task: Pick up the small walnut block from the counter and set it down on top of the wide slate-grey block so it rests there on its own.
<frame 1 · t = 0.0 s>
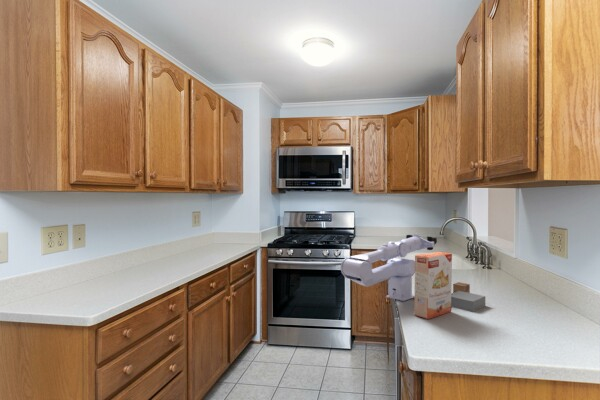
hand: (427, 239, 158), 22 cm above the counter, tool horizontal, fingers open, 7 cm apart
slate block: (465, 306, 134), on the counter
cracker box: (433, 314, 125), on the counter
walnut block: (461, 296, 147), on the counter
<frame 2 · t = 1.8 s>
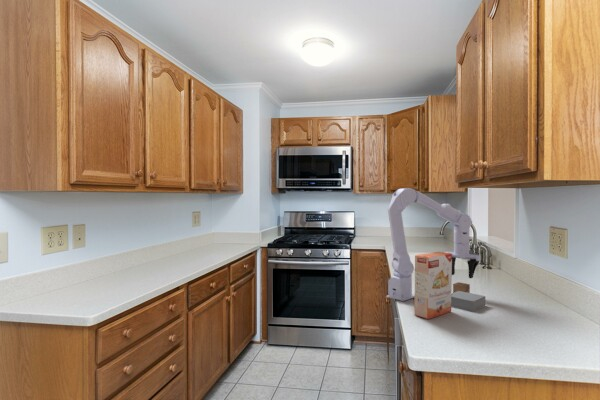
hand: (461, 276, 146), 8 cm above the counter, tool pointing down, fingers open, 7 cm apart
nothing on the counter moved.
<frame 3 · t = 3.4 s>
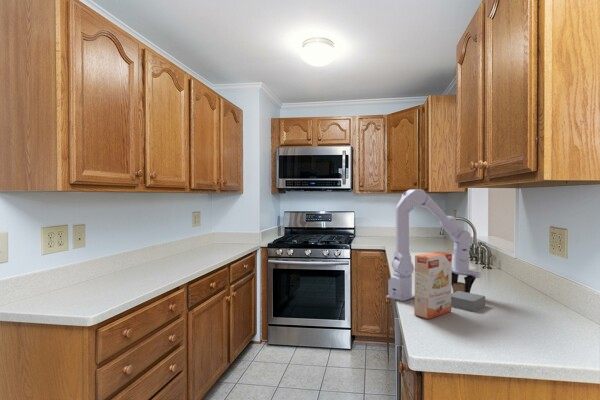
hand: (461, 292, 146), 1 cm above the counter, tool pointing down, fingers closed on walnut block, 5 cm apart
walnut block: (461, 296, 147), on the counter, touching gripper
everything else where it was.
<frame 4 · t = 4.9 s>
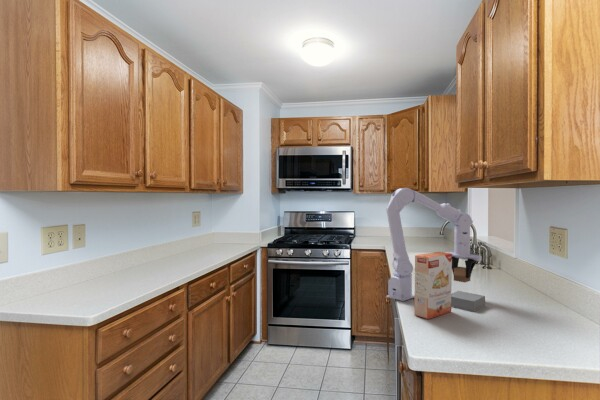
hand: (461, 276, 144), 8 cm above the counter, tool pointing down, fingers closed on walnut block, 5 cm apart
walnut block: (462, 280, 144), point 7 cm above the counter, touching gripper
everything else where it was.
when the fingers open (7 cm above the counter, at t = 6.7 s): walnut block drops 2 cm, point 4 cm above the counter.
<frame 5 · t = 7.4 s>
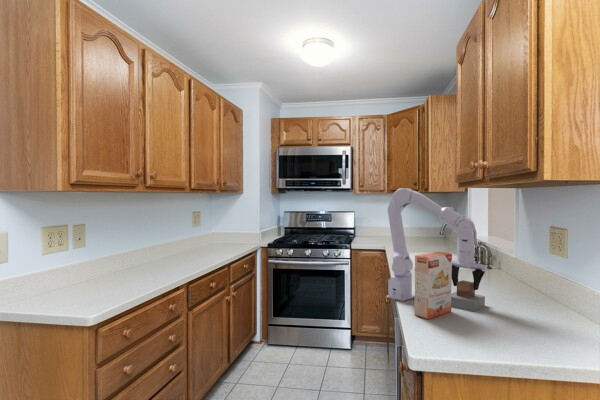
hand: (465, 287, 134), 7 cm above the counter, tool pointing down, fingers open, 7 cm apart
walnut block: (465, 295, 134), point 4 cm above the counter
everything else where it was.
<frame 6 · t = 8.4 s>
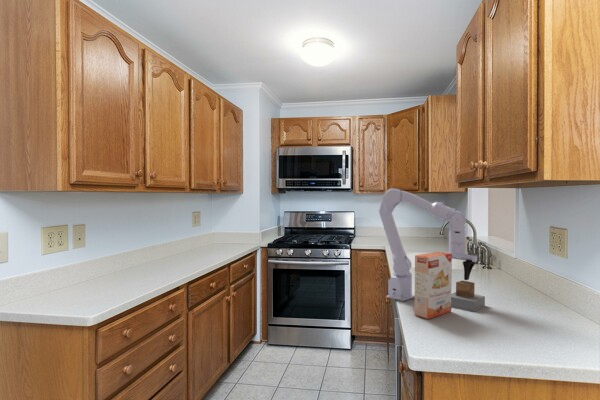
hand: (456, 277, 138), 9 cm above the counter, tool pointing down, fingers open, 7 cm apart
nothing on the counter moved.
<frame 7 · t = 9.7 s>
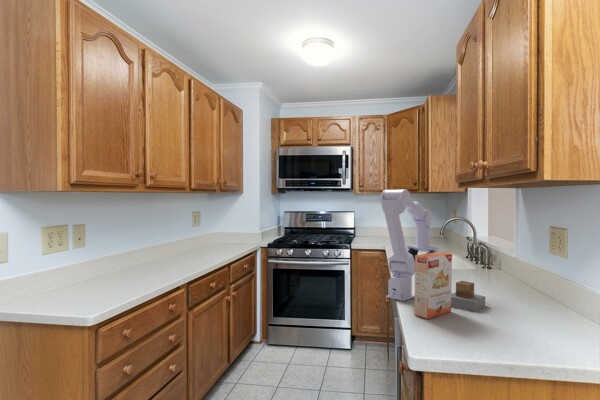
hand: (422, 267, 159), 9 cm above the counter, tool pointing down, fingers open, 7 cm apart
slate block: (466, 306, 134), on the counter, touching walnut block
walnut block: (465, 296, 134), point 4 cm above the counter, touching slate block
everything else where it was.
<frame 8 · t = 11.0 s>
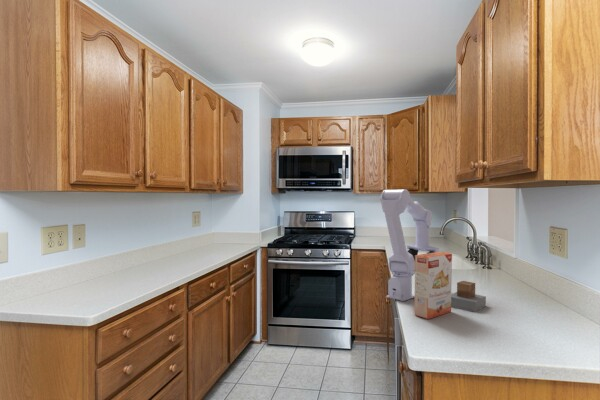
hand: (422, 267, 159), 9 cm above the counter, tool pointing down, fingers open, 7 cm apart
nothing on the counter moved.
at the end: walnut block 0.1 cm off-centre on the slate block, point 4.0 cm above the slate block's base; walnut block touching nothing; walnut block tilted 0° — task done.
